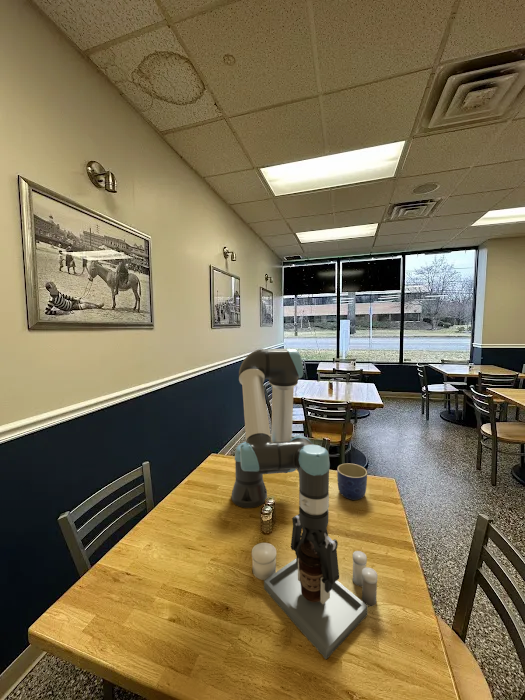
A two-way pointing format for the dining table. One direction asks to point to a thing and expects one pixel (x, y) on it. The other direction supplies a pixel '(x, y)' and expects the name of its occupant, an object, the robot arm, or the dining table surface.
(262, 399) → the robot arm
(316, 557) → the coffee cup
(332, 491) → the dining table surface
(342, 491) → the planter
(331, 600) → the tray
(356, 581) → the salt shaker
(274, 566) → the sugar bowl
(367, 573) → the pepper shaker
